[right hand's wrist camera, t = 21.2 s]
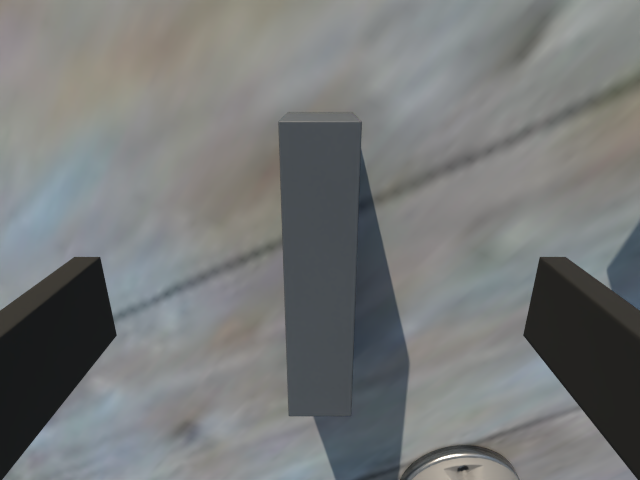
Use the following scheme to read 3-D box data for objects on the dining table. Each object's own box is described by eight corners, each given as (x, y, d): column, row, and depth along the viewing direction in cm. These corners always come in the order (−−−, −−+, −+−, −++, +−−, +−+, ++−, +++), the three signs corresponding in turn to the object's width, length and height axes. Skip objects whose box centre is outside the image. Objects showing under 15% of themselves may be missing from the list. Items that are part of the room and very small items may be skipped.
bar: (286, 112, 36) (278, 121, 29) (353, 112, 36) (361, 121, 29) (293, 361, 46) (288, 416, 38) (346, 361, 46) (351, 416, 38)
